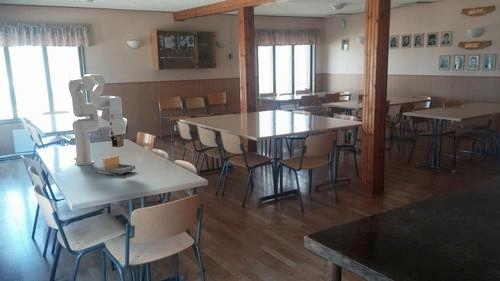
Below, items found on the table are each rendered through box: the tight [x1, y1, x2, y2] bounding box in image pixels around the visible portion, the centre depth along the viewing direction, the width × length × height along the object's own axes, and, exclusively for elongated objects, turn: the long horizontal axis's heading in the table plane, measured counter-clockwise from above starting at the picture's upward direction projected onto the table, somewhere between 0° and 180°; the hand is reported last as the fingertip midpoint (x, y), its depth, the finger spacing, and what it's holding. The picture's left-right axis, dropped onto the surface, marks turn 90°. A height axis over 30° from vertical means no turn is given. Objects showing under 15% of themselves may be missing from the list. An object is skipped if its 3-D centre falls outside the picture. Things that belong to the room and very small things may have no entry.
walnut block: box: [111, 135, 125, 148], centre depth 258 cm, size 5×5×7 cm
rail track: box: [96, 170, 137, 177], centre depth 263 cm, size 23×11×1 cm, turn 65°
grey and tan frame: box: [102, 154, 136, 175], centre depth 260 cm, size 14×13×9 cm
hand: (117, 144), depth 258 cm, fingers closed on walnut block, 5 cm apart
